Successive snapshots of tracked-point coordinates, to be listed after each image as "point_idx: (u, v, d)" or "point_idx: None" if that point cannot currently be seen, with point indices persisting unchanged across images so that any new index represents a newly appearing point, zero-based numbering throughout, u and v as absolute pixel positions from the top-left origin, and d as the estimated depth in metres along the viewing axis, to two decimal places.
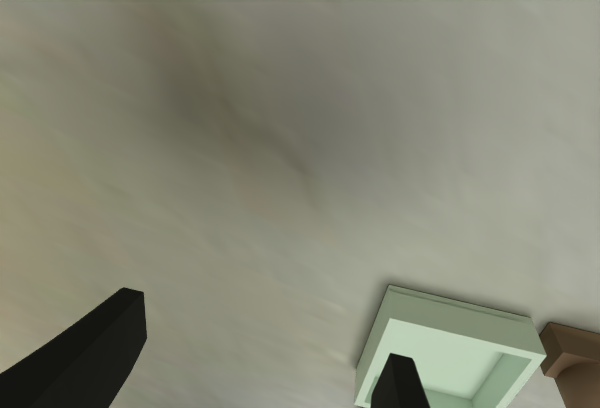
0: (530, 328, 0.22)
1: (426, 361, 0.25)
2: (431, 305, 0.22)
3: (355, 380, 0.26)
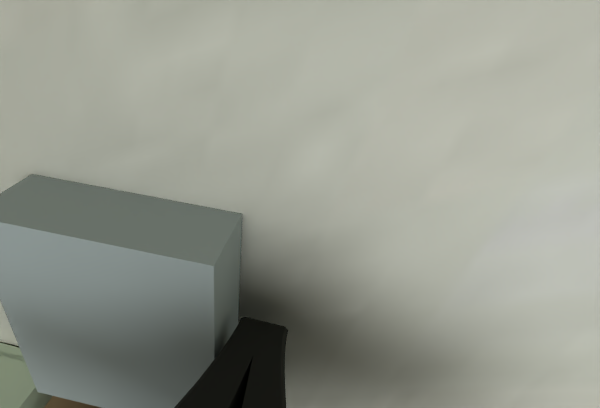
0: None
1: None
2: None
3: None
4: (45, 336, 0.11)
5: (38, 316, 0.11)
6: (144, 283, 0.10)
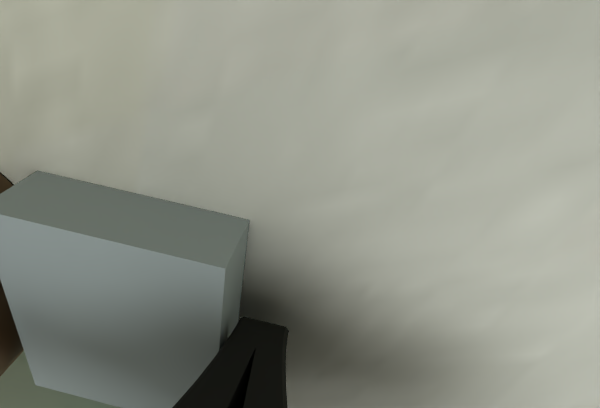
0: None
1: None
2: None
3: None
4: (48, 330, 0.11)
5: (43, 310, 0.11)
6: (154, 283, 0.10)
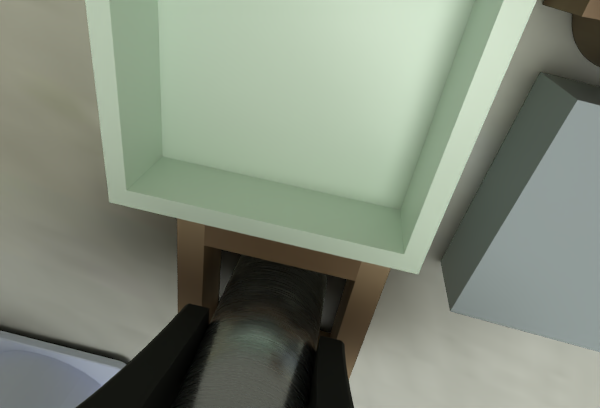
0: None
1: (281, 92, 0.10)
2: None
3: None
4: None
5: None
6: None
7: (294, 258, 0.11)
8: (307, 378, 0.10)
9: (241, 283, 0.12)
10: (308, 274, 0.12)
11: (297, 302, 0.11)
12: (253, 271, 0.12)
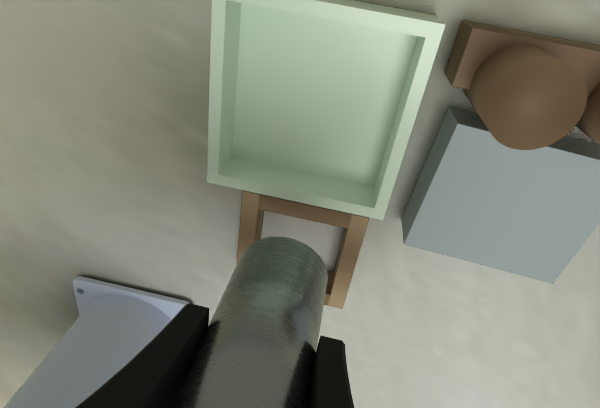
0: (431, 16, 0.15)
1: (305, 119, 0.18)
2: None
3: None
4: (523, 168, 0.16)
5: (543, 172, 0.16)
6: (551, 249, 0.17)
7: (312, 215, 0.19)
8: (308, 372, 0.10)
9: (243, 279, 0.12)
10: (309, 271, 0.13)
11: (298, 297, 0.12)
12: (254, 268, 0.12)
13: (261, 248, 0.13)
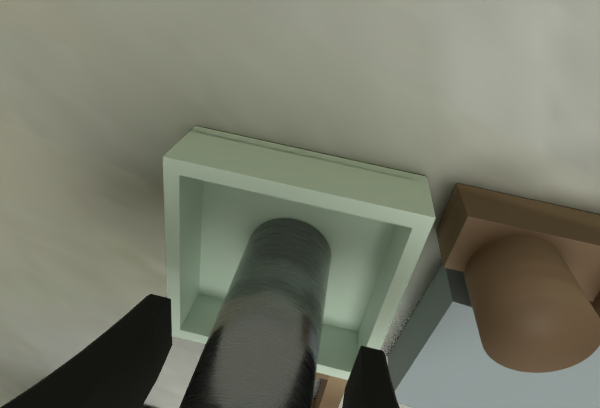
0: (420, 186, 0.13)
1: None
2: (254, 150, 0.13)
3: None
4: None
5: None
6: None
7: None
8: (316, 337, 0.11)
9: (254, 257, 0.13)
10: (315, 249, 0.14)
11: (305, 272, 0.13)
12: (264, 246, 0.13)
13: (269, 228, 0.14)
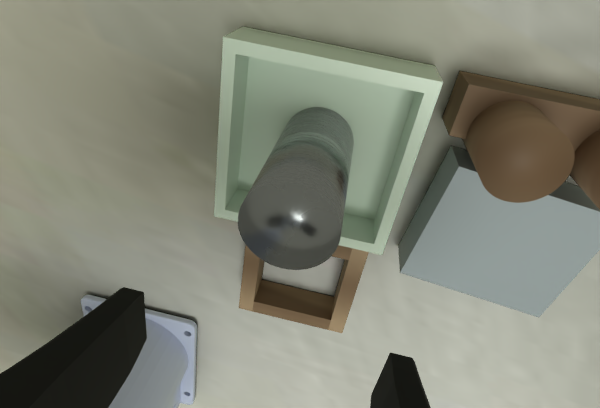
0: (430, 69, 0.16)
1: None
2: (294, 41, 0.16)
3: None
4: (518, 211, 0.17)
5: (537, 216, 0.17)
6: (539, 286, 0.18)
7: None
8: (346, 176, 0.14)
9: (292, 126, 0.16)
10: (341, 126, 0.17)
11: (336, 135, 0.15)
12: (301, 120, 0.16)
13: (304, 112, 0.17)
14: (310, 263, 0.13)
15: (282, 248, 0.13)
